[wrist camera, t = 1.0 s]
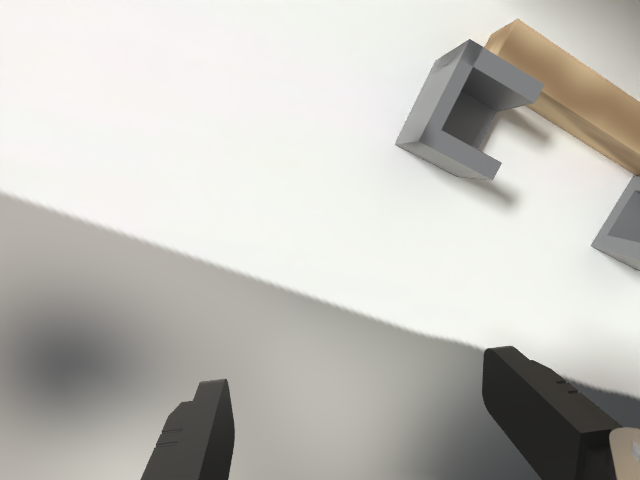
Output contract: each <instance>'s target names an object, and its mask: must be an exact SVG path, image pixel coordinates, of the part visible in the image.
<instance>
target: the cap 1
mask: <svg viewBox="0 0 640 480" xmlns="http://www.w3.org/2000/svg"><path fill="white" fill-rule="evenodd" d="M544 85H545V84H543V83H541V82H540V81H538V80H536V79H535V78H533V77H531V76H530V75H528V74H527V73H525V72H523V71H522V70H520V69H518V68H517V67H515V66H513V65H512V64H510V63H508V62H507V61H505V60H504V59H502V58H500V57H499V56H497V55H495V54H494V53H492V52H490V51H489V50H487V49H485V48H484V47H482V46H480V45H479V44H477V43H476V42H474V41H472V40H471V39H469V40H467V41H466V42H464V43H463V44H461V45H460V46H458V47H456V48H455V49H453V50H452V51H450V52H449V53H447V54H446V55H444V56H442V57H441V58H439V59H438V60H436V61H435V63H434V65H433V67H432V69H431V71H430V73H429V75H428V77H427V80H426V82H425V84H424V86H423V88H422V90H421V92H420V94H419V96H418V98H417V100H416V102H415V104H414V106H413V108H412V110H411V112H410V114H409V116H408V118H407V120H406V122H405V124H404V126H403V128H402V131H401V133H400V135H399V137H398V139H397V141H396V143H395V145H397V146H399V147H401V148H403V149H405V150H407V151H409V152H410V153H412V154H414V155H416V156H418V157H420V158H422V159H424V160H426V161H428V162H430V163H432V164H434V165H436V166H438V167H439V168H441V169H443V170H445V171H447V172H449V173H451V174H453V175H455V176H457V177H466V178H476V179H486V180H493V179H494V177H495V175H496V173H497V171H498V169H499V168H500V166H501V164H502V163H501V162H499V161H498V160H496V159H494V158H492V157H490V156H488V155H486V154H485V153H483V152H481V151H479V150H477V148H478V146H479V144H480V143H481V141H482V139H483V137H484V135H485V133H486V131H487V129H488V127H489V126H490V124H491V122H492V120H493V118H494V116H495V114H496V112H497V111H501V110H506V109H510V108H515V107H519V106H524V105H529V104H533V103H535V102H536V100H537V98H538V96H539V94H540V92H541V91H542V89H543V87H544Z"/></svg>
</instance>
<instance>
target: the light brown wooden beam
mask: <svg viewBox="0 0 640 480" xmlns="http://www.w3.org/2000/svg"><path fill="white" fill-rule="evenodd" d="M484 48H485V49H487V50H489V51H490V52H492V53H494V54H495V55H497V56H499V57H500V58H502V59H504V60H505V61H507V62H508V63H510V64H512V65H513V66H515V67H517V68H518V69H520V70H522V71H523V72H525V73H527V74H528V75H530V76H531V77H533V78H535V79H536V80H538V81H540V82H541V83H543V84H545V85H544V87H543V89H542V91H541V92H540V94H539V96H538V98H537V100H536V102H535V103H533V104H529V105H525V106H527V107H528V108H530V109H532V110H533V111H535V112H536V113H538V114H540V115H541V116H543V117H544V118H546V119H547V120H549V121H551V122H552V123H554V124H555V125H557V126H559V127H560V128H562V129H563V130H565V131H566V132H568V133H570V134H571V135H573V136H574V137H576V138H578V139H579V140H581V141H582V142H584V143H585V144H587V145H589V146H590V147H592V148H593V149H595V150H597V151H598V152H600V153H601V154H603V155H605V156H606V157H608V158H609V159H611V160H612V161H614V162H616V163H617V164H619V165H620V166H622V167H624V168H625V169H627V170H628V171H630V172H631V173H633V174H635V175H636V176H640V102H638V101H637V100H636V99H634V98H633V97H631V96H630V95H628V94H627V93H625V92H624V91H622V90H621V89H620V88H618V87H617V86H615V85H614V84H612V83H611V82H609V81H608V80H606V79H605V78H604V77H602V76H601V75H599V74H598V73H596V72H595V71H593V70H592V69H590V68H589V67H587V66H586V65H585V64H583V63H582V62H580V61H579V60H577V59H576V58H574V57H573V56H571V55H570V54H569V53H567V52H566V51H564V50H563V49H561V48H560V47H558V46H557V45H555V44H554V43H553V42H551V41H550V40H548V39H547V38H545V37H544V36H542V35H541V34H539V33H538V32H537V31H535V30H534V29H532V28H531V27H529V26H528V25H526V24H525V23H523V22H522V21H520V20H519V19H517V20H515V21H513V22H512V23H510V24H508V25H506V26H505V27H503V28H501V29H500V30H498V31H496V32H495V33H493V34H491V36H490V38H489V40H488V42H487V44H486V46H485V47H484Z"/></svg>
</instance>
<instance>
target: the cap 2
mask: <svg viewBox="0 0 640 480" xmlns="http://www.w3.org/2000/svg"><path fill="white" fill-rule="evenodd" d="M591 246H592V247H594V248H596V249H598V250H600V251H602V252H604V253H606V254H608V255H610V256H612V257H613V258H615V259H617V260H619V261H621V262H623V263H625V264H627V265H629V266H631V267H633V268H635V269H637V270H639V271H640V176H633V178H632V179H631V181H630V183H629V184H628V186H627V187H626V189H625V191H624V192H623V194H622V196H621V197H620V199H619V201H618V202H617V204H616V205H615V207H614V209H613V210H612V212H611V214H610V215H609V217H608V219H607V220H606V222H605V223H604V225H603V227H602V228H601V230H600V232H599V233H598V235H597V237H596V238H595V240H594V241H593V243H592V245H591Z"/></svg>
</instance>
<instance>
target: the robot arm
mask: <svg viewBox="0 0 640 480" xmlns="http://www.w3.org/2000/svg"><path fill="white" fill-rule="evenodd" d="M482 383H483V384H482V395H483V400H484V404H485V406H486V408H487V410H488V412H489V413H490V415H491V416H492V417H493V419H494V420H495V421H496V422H497V423H498V425H499V426H500V427H501V428H502V430H503V431H504V432H505V434H506V435H507V436H508V438H509V439H510V440H511V441H512V443H513V444H514V445H515V446H516V448H517V449H518V450H519V451H520V453H521V454H522V455H523V456H524V458H525V459H526V460H527V461H528V463H529V464H530V465H531V467H532V468H533V469H534V470H535V472H536V473H537V474H538V475H539V477H540V478H541V479H542V480H640V429H637V428H627V427H622V426H621V425H619V424H618V423H617V422H616V421H615V420H614V419H612V418H611V417H610V416H609V415H607V414H606V413H605V412H604V411H602V410H601V409H600V408H599V407H598V406H596V405H595V404H593V402H591V401H590V400H589V399H588V398H586V397H585V396H584V395H583V394H581V393H578V391H577V390H576V389H575V388H574V387H573V386H571V385H570V384H569V383H566V381H565V380H564V379H563V378H562V377H560V376H559V375H558V374H557V373H555V372H554V371H553V370H552V369H550V368H548V367H546V366H544V365H542V364H540V363H538V362H536V361H534V360H529V359H528V358H527V357H525V356H524V355H523V354H522V353H521V352H519V351H518V350H517V349H516V348H515V347H513V346H505V347H496V348H488V349H486V350H485V352H484V362H483V382H482ZM234 438H235V429H234V419H233V413H232V405H231V399H230V392H229V386H228V381H227V379H220V380H212V381H203V382H200V383H199V386H198V389H197V391H196V394H195V397H194V399H193V401H188V402H182V403H180V404H179V406H178V407H177V408H176V409H175V410H174V411H173V412H172V413H171V414H170V415H169V416H168V418H167V421H166V423H165V425H164V427H163V430H162V434H161V435H160V437H159V439H158V441H157V443H156V448H154V451H153V453H152V455H151V457H150V460H149V462H148V464H147V466H146V469H145V471H144V473H143V476H142V478H141V480H228V478H229V472H230V466H231V460H232V454H233V448H234Z"/></svg>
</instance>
